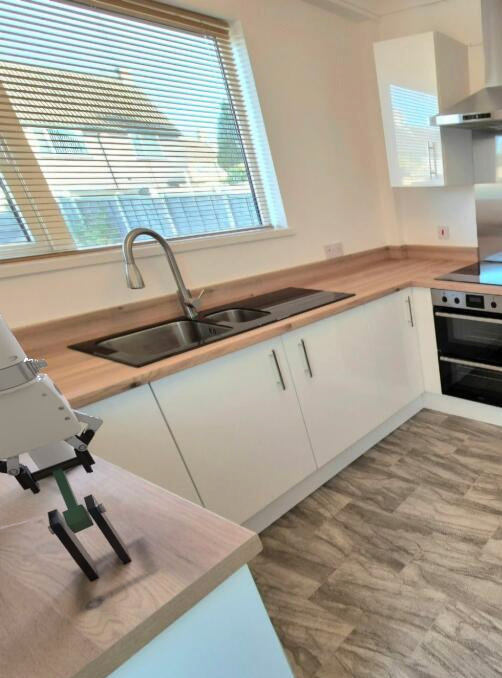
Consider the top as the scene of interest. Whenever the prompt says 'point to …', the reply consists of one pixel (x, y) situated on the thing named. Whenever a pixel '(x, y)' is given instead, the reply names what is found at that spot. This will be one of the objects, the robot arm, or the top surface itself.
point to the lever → (67, 494)
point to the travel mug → (52, 454)
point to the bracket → (75, 546)
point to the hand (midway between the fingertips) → (63, 478)
